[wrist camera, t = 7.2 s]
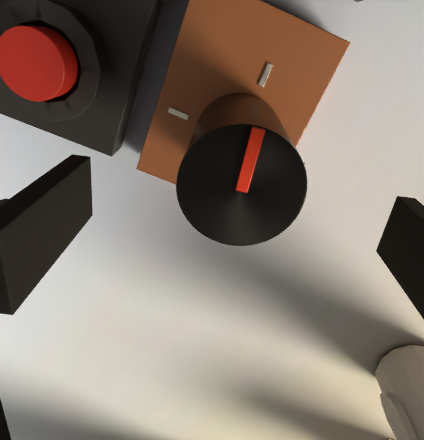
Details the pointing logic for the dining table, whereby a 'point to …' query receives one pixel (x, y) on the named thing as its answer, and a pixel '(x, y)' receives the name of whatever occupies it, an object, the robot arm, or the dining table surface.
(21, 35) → the power button
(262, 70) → the control panel
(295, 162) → the knob
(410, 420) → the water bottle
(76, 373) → the dining table surface
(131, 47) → the button base
